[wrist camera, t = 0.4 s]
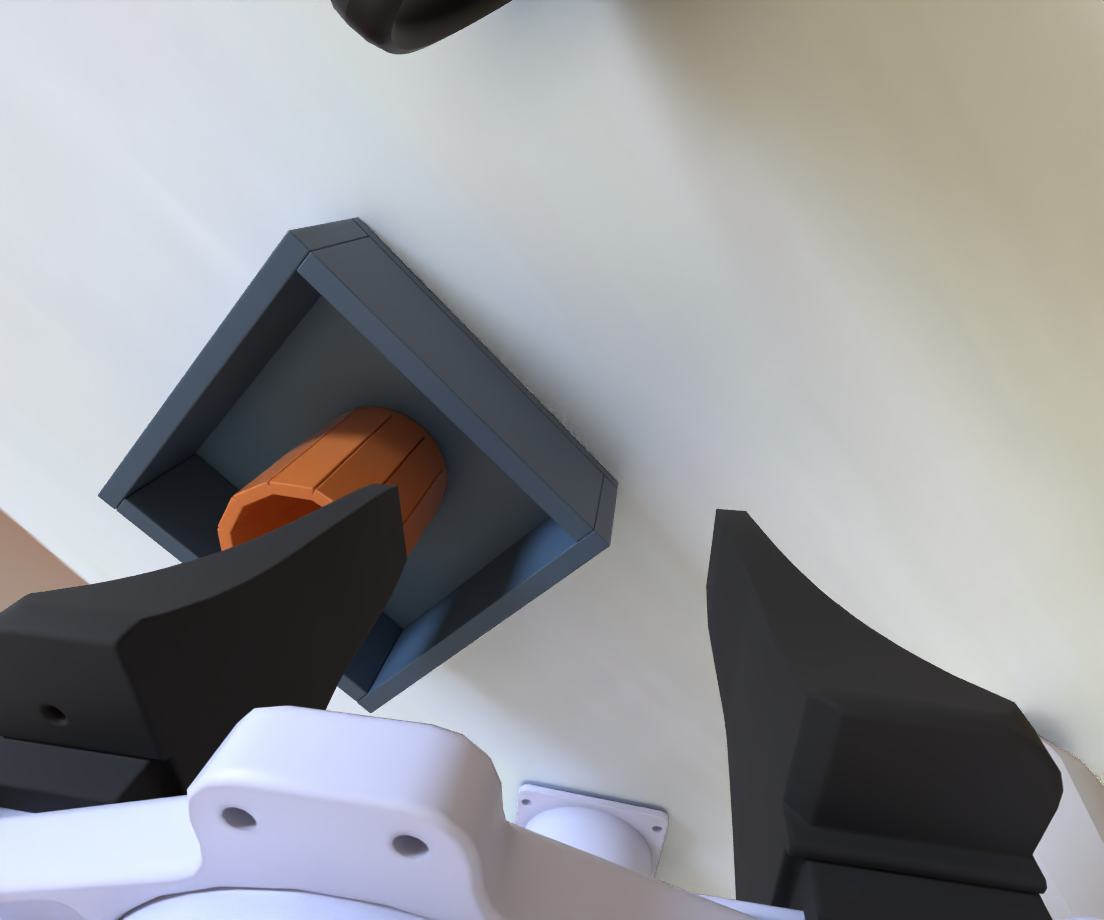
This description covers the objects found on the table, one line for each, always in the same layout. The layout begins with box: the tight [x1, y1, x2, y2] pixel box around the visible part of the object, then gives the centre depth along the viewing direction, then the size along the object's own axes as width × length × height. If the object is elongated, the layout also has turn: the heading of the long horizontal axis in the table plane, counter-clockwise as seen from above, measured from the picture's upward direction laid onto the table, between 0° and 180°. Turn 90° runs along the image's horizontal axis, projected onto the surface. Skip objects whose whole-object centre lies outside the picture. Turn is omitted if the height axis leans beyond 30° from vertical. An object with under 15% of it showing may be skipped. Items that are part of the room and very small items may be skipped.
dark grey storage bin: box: [98, 217, 618, 713], centre depth 24 cm, size 14×14×4 cm
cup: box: [218, 407, 448, 557], centre depth 22 cm, size 6×6×6 cm
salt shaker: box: [1033, 736, 1104, 920], centre depth 21 cm, size 6×6×13 cm
